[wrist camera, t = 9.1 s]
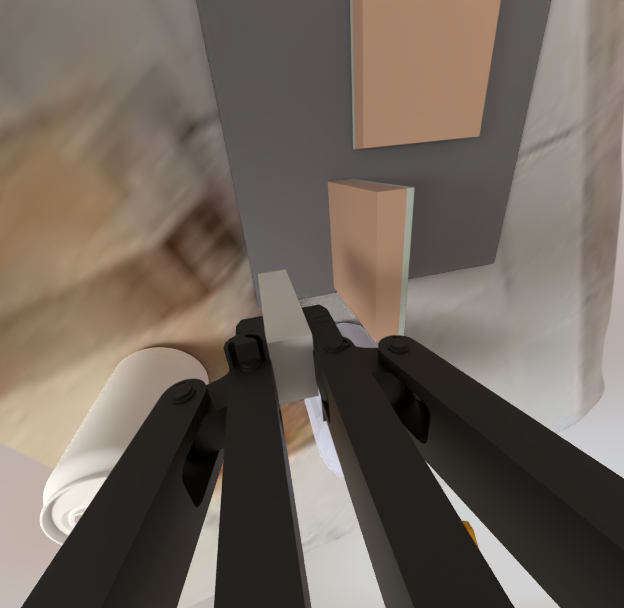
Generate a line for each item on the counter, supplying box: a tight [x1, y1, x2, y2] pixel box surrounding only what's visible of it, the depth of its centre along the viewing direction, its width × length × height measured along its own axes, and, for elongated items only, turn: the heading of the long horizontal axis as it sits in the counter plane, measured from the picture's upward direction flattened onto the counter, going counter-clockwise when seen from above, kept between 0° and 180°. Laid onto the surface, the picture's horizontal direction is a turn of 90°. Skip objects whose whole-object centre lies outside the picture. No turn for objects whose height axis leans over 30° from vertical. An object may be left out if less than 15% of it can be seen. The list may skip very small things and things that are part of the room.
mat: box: [196, 0, 551, 307], centre depth 22 cm, size 24×22×1 cm
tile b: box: [328, 179, 414, 342], centre depth 20 cm, size 2×9×9 cm, turn 5°
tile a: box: [350, 0, 501, 149], centre depth 19 cm, size 2×9×9 cm
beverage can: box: [40, 347, 209, 545], centre depth 22 cm, size 8×8×12 cm
